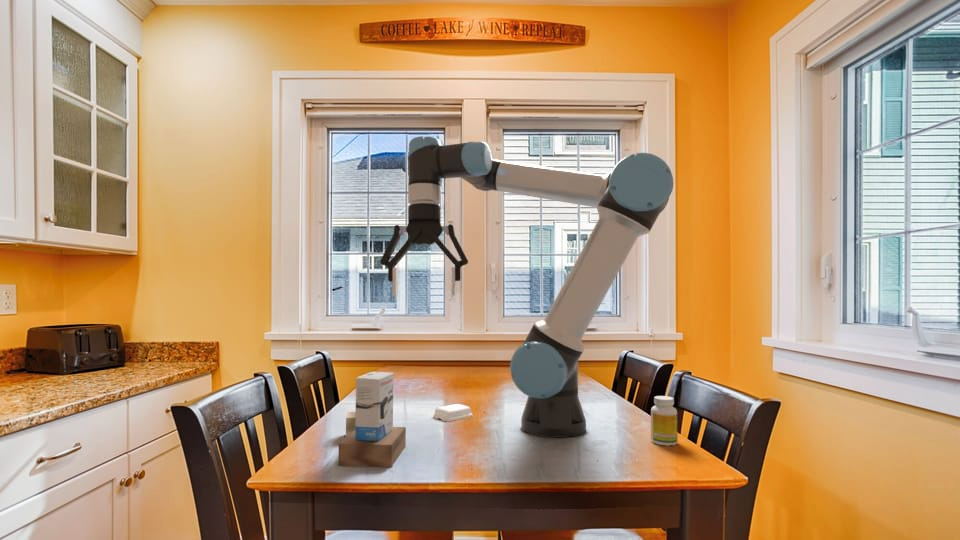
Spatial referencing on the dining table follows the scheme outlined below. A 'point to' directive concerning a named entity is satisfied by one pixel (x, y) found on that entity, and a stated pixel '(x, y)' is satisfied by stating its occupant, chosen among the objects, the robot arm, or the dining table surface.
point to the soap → (452, 412)
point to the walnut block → (372, 449)
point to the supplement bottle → (664, 421)
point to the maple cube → (350, 422)
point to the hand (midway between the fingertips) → (424, 295)
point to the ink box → (374, 406)
